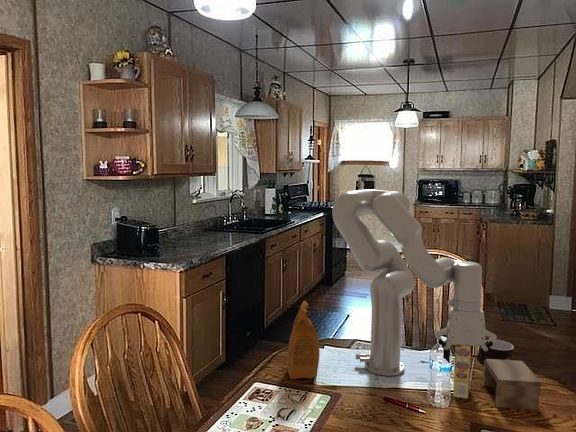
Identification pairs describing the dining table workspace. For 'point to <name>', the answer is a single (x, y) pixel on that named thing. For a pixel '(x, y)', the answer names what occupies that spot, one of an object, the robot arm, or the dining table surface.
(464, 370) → the candy box
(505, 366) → the walnut shelf
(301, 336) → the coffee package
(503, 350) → the coffee mug
